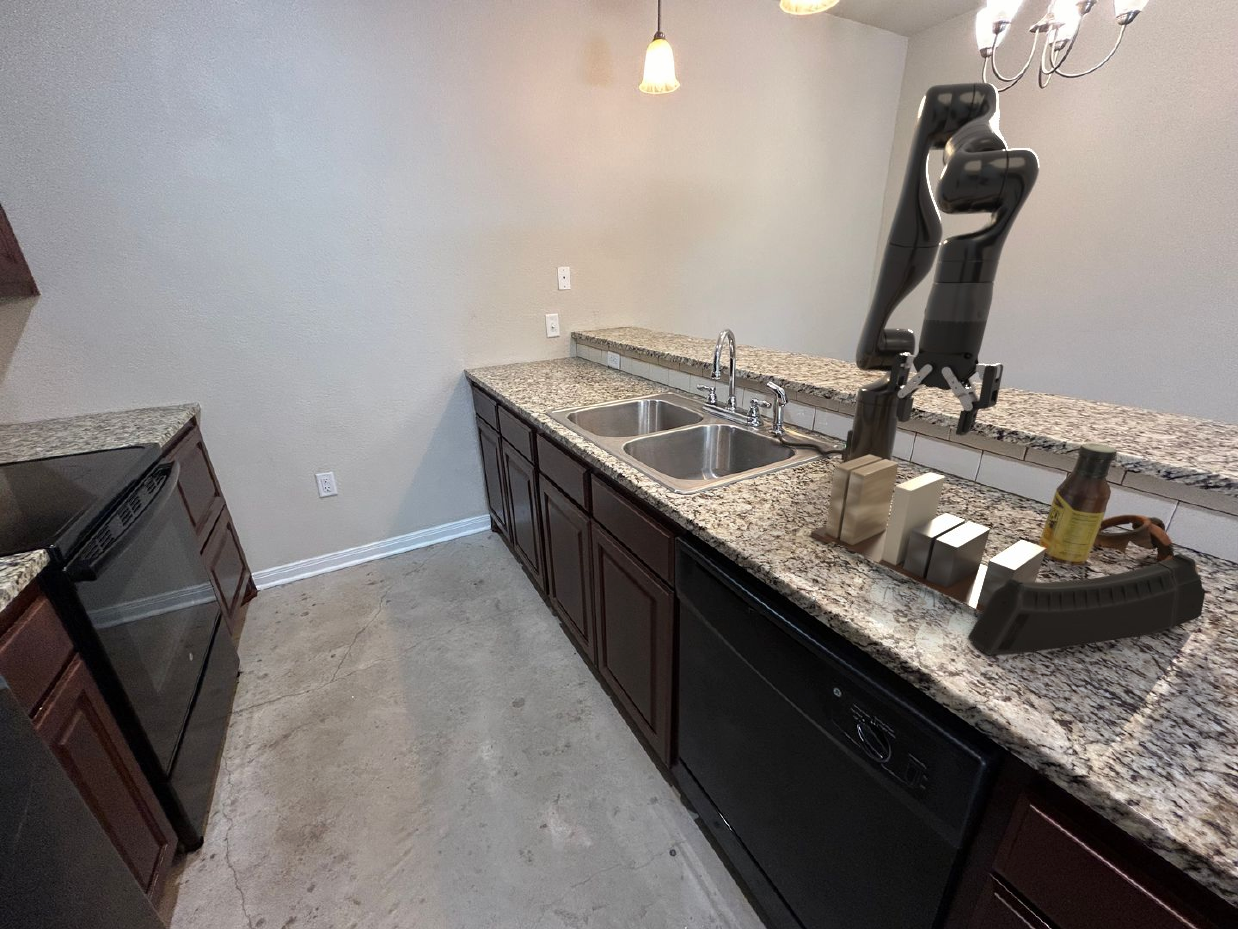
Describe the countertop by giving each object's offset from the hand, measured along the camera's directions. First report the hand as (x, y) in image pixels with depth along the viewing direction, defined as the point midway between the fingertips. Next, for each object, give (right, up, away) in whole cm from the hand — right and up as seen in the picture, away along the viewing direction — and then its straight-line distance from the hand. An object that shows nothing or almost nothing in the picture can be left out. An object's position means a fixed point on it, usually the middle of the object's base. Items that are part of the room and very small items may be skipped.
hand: (931, 427), depth 75 cm
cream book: (0, -20, +7) cm, 22 cm away
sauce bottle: (+25, -22, +6) cm, 33 cm away
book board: (+1, -22, +6) cm, 23 cm away
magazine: (+12, -29, -11) cm, 33 cm away
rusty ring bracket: (+37, -21, +7) cm, 43 cm away
